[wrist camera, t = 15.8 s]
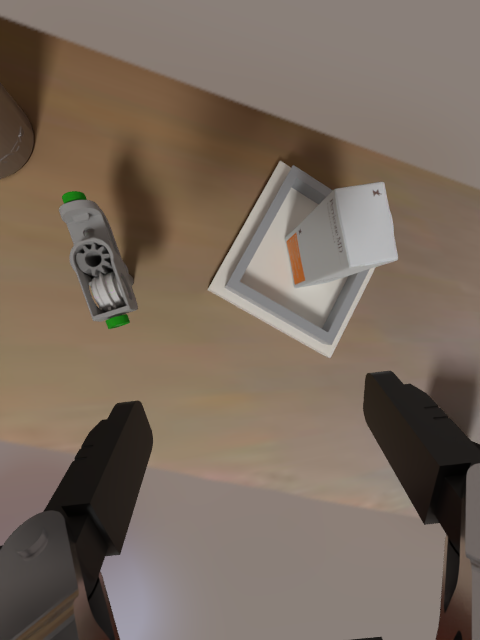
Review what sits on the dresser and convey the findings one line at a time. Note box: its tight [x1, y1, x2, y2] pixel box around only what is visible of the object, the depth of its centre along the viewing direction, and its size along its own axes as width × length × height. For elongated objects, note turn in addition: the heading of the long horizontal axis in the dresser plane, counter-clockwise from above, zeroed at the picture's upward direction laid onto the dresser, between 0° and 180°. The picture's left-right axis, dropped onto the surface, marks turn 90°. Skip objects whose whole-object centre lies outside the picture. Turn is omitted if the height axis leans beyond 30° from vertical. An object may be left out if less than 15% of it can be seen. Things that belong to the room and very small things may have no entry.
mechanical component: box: [59, 191, 138, 329], centre depth 25 cm, size 3×10×10 cm, turn 19°
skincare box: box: [285, 182, 398, 288], centre depth 26 cm, size 6×4×12 cm
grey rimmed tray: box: [208, 161, 375, 358], centre depth 32 cm, size 16×17×3 cm
